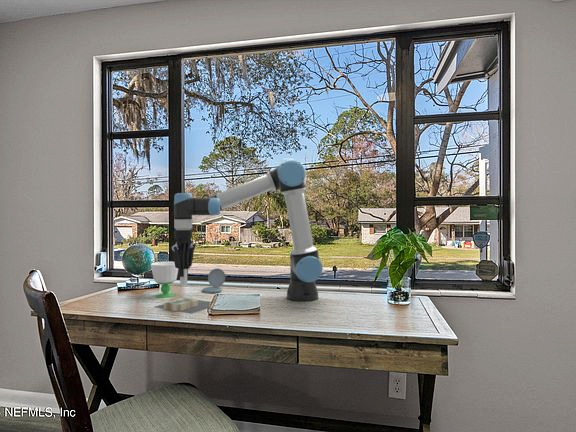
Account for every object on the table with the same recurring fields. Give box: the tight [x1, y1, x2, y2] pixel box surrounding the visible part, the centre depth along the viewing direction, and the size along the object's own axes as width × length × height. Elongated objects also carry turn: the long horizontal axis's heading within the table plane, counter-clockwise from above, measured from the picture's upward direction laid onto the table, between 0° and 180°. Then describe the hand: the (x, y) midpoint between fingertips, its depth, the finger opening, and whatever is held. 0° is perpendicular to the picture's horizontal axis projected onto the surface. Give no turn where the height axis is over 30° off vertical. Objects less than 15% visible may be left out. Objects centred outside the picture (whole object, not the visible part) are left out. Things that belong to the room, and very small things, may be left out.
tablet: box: [163, 297, 199, 312], centre depth 186 cm, size 8×3×12 cm
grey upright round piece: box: [201, 268, 226, 294], centre depth 222 cm, size 10×11×15 cm
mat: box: [154, 299, 212, 315], centre depth 190 cm, size 22×20×1 cm
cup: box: [150, 261, 179, 298], centre depth 212 cm, size 14×14×16 cm
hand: (183, 283), depth 187 cm, fingers closed
